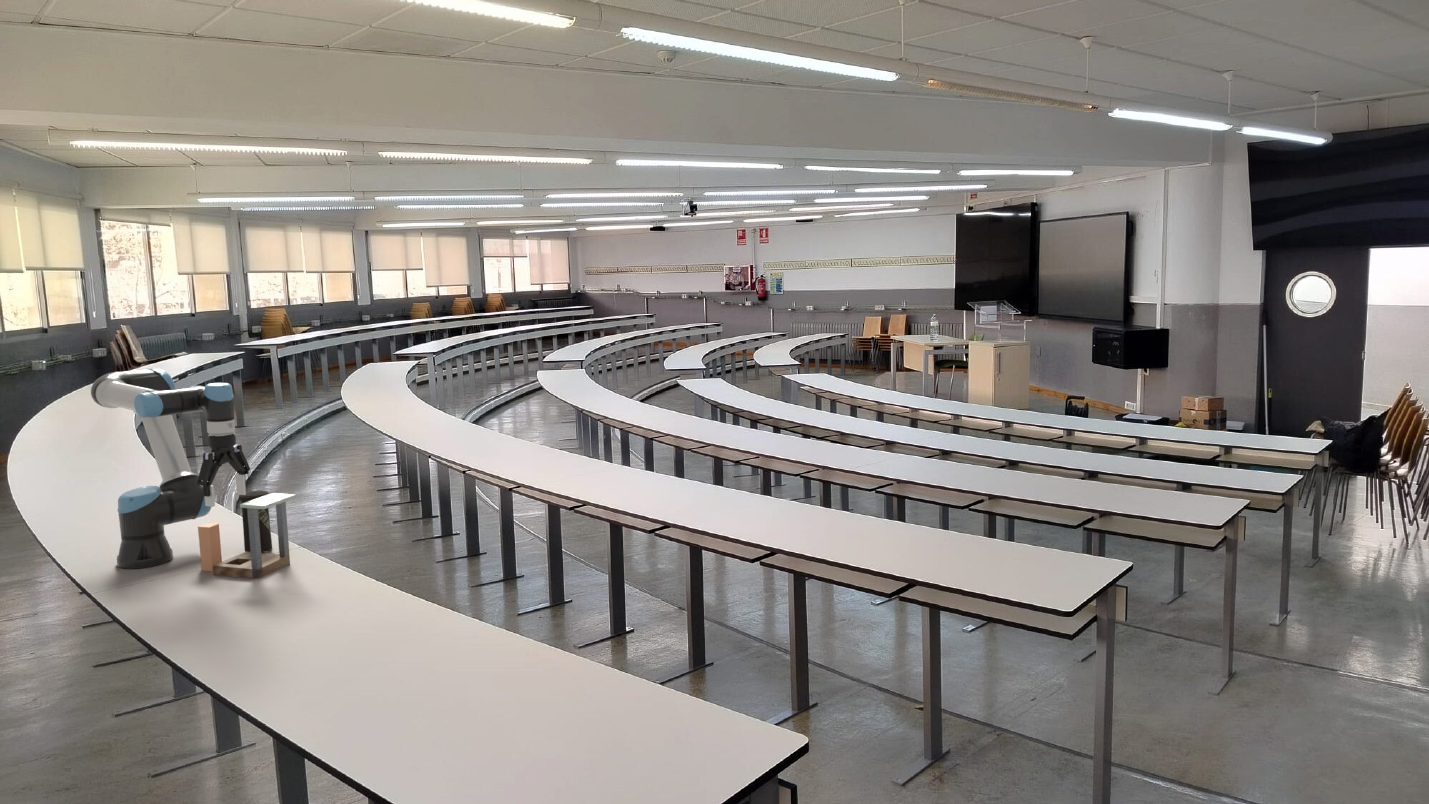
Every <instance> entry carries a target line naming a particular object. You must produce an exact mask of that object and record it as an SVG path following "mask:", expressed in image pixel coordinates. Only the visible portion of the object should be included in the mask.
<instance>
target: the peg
mask: <svg viewBox="0 0 1429 804" xmlns="http://www.w3.org/2000/svg"><path fill="white" fill-rule="evenodd" d="M197 530H198V531H197V532H198V543H199V553H200V566H201V571H208V572H213V565H215V564H218V563H220V562H222V561H223V558H222V557H223V555H222V548H221V546H222V545H221V536H220V535H221V534H220V533H221V532H220V524H219V523H211V522H207V523H205V524H201V525H198V526H197Z"/></svg>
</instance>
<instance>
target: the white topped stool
mask: <svg viewBox="0 0 1429 804" xmlns="http://www.w3.org/2000/svg"><path fill="white" fill-rule="evenodd" d="M296 498H297V494H294V493H293V494H292V493H282V492H281V493H278V492H272V493H271V492H270V493H269V494H268V495H265V496H262V497H259V498H256V499H254V500H251V501H248V502H245V503H242V504H241V503H240V504H239V508H241V509H242V508H247V513H248V525H249V538H250V551H251V563H252V569H253V570H254V571H255V569H256V571H255V572H256V573H254V575H255V576H256V575H257V572H258V571H260V569H261V570H262V556H261V543H260V530H259V517H258V509H267V508H268V509H269V508H271V507H272V508H273V507H274V506H275V512H276V513H275V514H276V527H277V528H276V529H277V539H278V540H277V541H278V553H279V555H280V557H286V556H290V543H289V542H290V541H289V531H288V516H287V502H288V501H291V500H293V499H296ZM287 566H288V565H286V566H285V567H287ZM258 569H259V570H258ZM253 570H252V571H253ZM258 573H260V572H258ZM252 574H253V573H252ZM261 574H262V573H261ZM252 576H253V575H252ZM257 576H258V577H259V575H257ZM260 576H261V575H260ZM258 577H256V578H255V577H253V578H254V579H253V580H259V579H261V578H258ZM257 578H258V579H257Z"/></svg>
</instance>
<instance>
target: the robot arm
mask: <svg viewBox="0 0 1429 804" xmlns="http://www.w3.org/2000/svg"><path fill="white" fill-rule="evenodd" d="M90 388H91V389H90V395H91V398H92V400H93V401H94V402H95V403H96V404H98V405H99V406H101V407H103V408H107V409H117V408H122V409H125V410H130V411H133V414H135V415H138V416H139V417H140V418H141V421H142V424H143V427H144V429H145V430H144V431H145V433H146V436H147V440H148V441H149V445H150V448H151V450H152V453H153V456H154V458H155V462H156V465H157V468H158V470H159V471H158V472H159V473H160V476H161V479H162V481H161V483H160V484H159V486H158V485H147V486H140V487H137V488H136V487H135V488H134V489H130V490H128V491H125V492H123V493H122V494H121V495H119V497H118V499H117V512H118V522H119V528H120V539H121V542H120V544H119V545H120V546H119V552H118V555H117V557H116V566H117V567H118V568H121V569H129V570H130V569H132V570H133V569H143V568H150V567H154V566H159V565H162V564H165V563H168V562H170V561H171V560H173V558H174V552H173V549H172V548H171V545H170V543H169V541H168V539H167V537H166V535H165V526H167V525H170V524H175V523H180V522H185V521H189V520H195V519H198V518H201V517H205V516H207V515H208V514H209V513H210V512H211V509H212V508H213V507H215V506H216V503H215V502H216V501H215V488H214V486H215V485H214V484H213V482H214V479H216V478H215V477H216V475H217V472H218V471H219V469H220V467H222V466H223V465H224V464H225V465H226V463H228V464H229V465H230V466H231V467H232V468H233V470H234V471H235V472H236V474H235V489H236V490H235V491H236V495H238V496H240V495H246V492H247V491H246V489H247V488H246V482H247V480H246V479H247V478H246V475H249V471H251V467H250V465H249V462H248V460H247V458H246V456H245V454H244V451H243V446H242V444H237V436H236V433H235V432H236V425H235V404H234V401H235V400H234V393H233V386H232V384H231V383H228V382H213V383H212V382H211V383H208V384H205V386H203V385H190V386H189V387H187V388H180V389H179V388H178V389H176V385H175V382H174V380H173V378H172V376H171V374H169V373H168V372H167V371H166V370H163V369H162V368H146V369H137V370H125V371H124V370H123V371H114V372H113V371H112V372H109V373H105V374H103V375H101V376H100V377H98V378H97V379H95V381H94V382H93V383H92V385H91V387H90ZM198 412H205V415H206V433H207V434H208V435H207V442H208V443H207V444H208V445H207V446H208V447H209V448H211V450H210V452H204V453H203V454H202V463H201V467H200V471H199V473H198V474H197V473H194V472H193V471H192V470H191V466H190V463H189V461H188V458H187V455H186V452H185V449H184V446H183V443H182V441H181V440H182V439H181V438H180V436H179V431H178V429H177V427H176V424H175V423H176V422H175V421H174V418H173V415H180V414H189V413H198ZM212 484H213V485H212Z"/></svg>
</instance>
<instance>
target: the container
mask: <svg viewBox="0 0 1429 804" xmlns="http://www.w3.org/2000/svg"><path fill="white" fill-rule="evenodd" d="M268 494H270V492H269V491H267V490H262V489H261V490H257V489H256V490H250V491H249V490H248V491H246V495H238V499H239V501H241V502H240V504H242V503H245V502H248V501H251V500H254V499H256V498H259V497H262V496H265V495H268ZM269 511H270V510H269V508H267V509H258V517H259V530H260V543H261V553H267V552H270V551H271V550H273V541H272V532H271V531H272V530H271V521H270V512H269ZM241 514H242V515H241V517H242V528H243V546H244V552H251V551H250V538H249V525H248V513H247V508H241Z"/></svg>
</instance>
